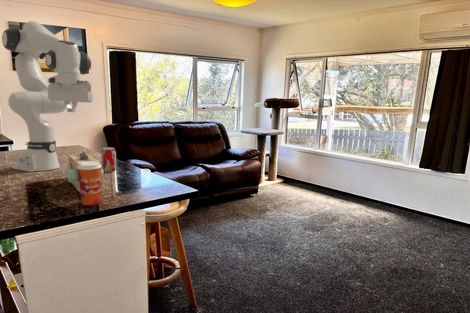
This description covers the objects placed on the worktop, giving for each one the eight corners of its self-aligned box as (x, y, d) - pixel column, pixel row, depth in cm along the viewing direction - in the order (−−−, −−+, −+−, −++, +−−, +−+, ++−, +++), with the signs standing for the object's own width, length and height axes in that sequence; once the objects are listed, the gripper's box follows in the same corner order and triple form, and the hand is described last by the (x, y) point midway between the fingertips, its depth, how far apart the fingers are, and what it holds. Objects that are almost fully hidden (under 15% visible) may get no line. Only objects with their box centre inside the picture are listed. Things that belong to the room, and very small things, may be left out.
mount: (81, 194, 130) (79, 165, 128) (70, 181, 147) (68, 155, 145) (102, 191, 135) (101, 163, 133) (89, 179, 152) (87, 153, 150)
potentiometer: (78, 159, 138) (77, 149, 137) (83, 158, 141) (83, 148, 140) (85, 160, 137) (84, 149, 136) (90, 158, 140) (89, 148, 139)
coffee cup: (81, 207, 116) (79, 166, 113) (76, 201, 122) (74, 162, 119) (106, 203, 121) (104, 164, 118) (100, 197, 127) (98, 160, 124)
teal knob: (70, 183, 129) (69, 171, 128) (68, 180, 133) (67, 168, 132) (104, 179, 137) (104, 167, 136) (101, 176, 140) (100, 165, 140)
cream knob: (64, 176, 139) (63, 164, 138) (62, 173, 143) (61, 162, 142) (96, 172, 147) (96, 161, 146) (93, 170, 151) (93, 159, 150)
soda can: (111, 173, 164) (110, 149, 162) (99, 172, 166) (97, 148, 163) (119, 170, 171) (118, 147, 169) (107, 169, 172) (106, 146, 170)
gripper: (95, 81, 142) (96, 113, 145) (55, 79, 147) (57, 110, 149) (85, 80, 136) (87, 113, 139) (44, 78, 141) (46, 111, 143)
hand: (71, 112), depth 144 cm, fingers closed
